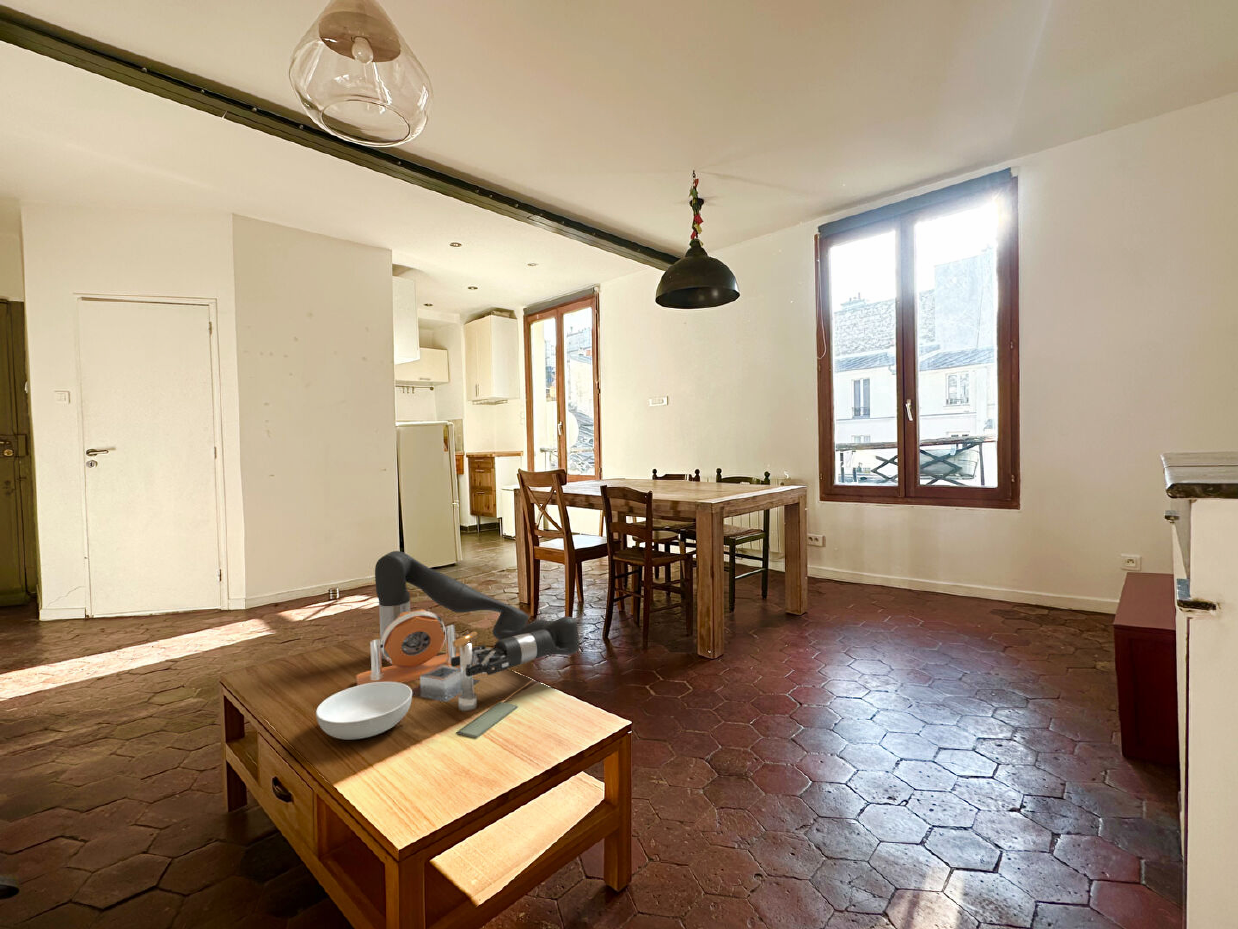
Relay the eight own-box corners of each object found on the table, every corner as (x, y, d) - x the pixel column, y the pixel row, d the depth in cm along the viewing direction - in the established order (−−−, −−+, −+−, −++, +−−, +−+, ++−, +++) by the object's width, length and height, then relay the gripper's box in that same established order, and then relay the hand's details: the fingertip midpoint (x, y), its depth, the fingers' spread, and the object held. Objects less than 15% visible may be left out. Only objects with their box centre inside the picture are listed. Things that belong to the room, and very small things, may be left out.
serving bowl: (323, 717, 141) (322, 690, 140) (412, 701, 148) (411, 676, 148) (310, 760, 121) (308, 729, 121) (413, 740, 129) (412, 710, 128)
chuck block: (441, 676, 164) (441, 659, 163) (480, 684, 158) (480, 666, 157) (405, 697, 151) (404, 678, 151) (445, 705, 145) (445, 686, 145)
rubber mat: (467, 697, 150) (467, 695, 150) (517, 707, 143) (517, 705, 143) (423, 725, 135) (423, 723, 135) (476, 738, 128) (476, 735, 128)
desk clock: (471, 671, 168) (469, 604, 167) (362, 697, 152) (358, 623, 151) (459, 658, 178) (456, 595, 177) (355, 682, 162) (352, 612, 161)
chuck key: (469, 700, 146) (467, 630, 145) (483, 703, 144) (481, 632, 144) (451, 712, 140) (449, 639, 139) (465, 716, 138) (463, 641, 137)
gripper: (530, 672, 146) (471, 691, 135) (503, 657, 156) (447, 673, 146) (529, 643, 145) (470, 660, 135) (502, 630, 156) (446, 645, 146)
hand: (458, 667), depth 140 cm, fingers open, 8 cm apart
